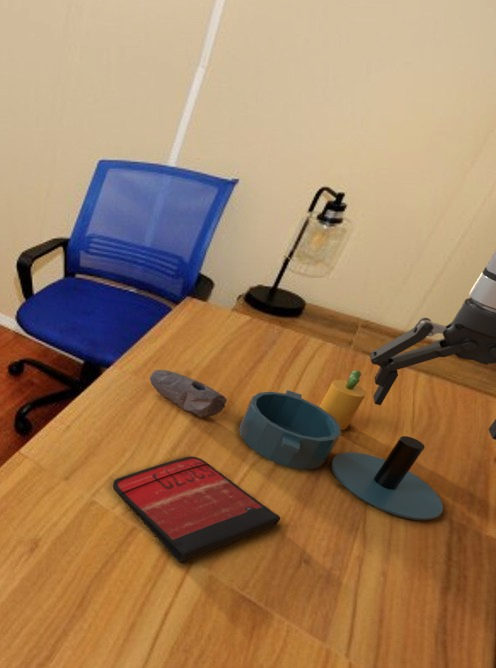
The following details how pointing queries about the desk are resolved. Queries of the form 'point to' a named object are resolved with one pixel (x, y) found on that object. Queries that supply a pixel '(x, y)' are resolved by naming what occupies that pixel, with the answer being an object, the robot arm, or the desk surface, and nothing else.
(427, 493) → the pot lid
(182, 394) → the perforated stone tool
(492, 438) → the robot arm
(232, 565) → the desk surface
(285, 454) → the pot
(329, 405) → the yellow cylinder green stem
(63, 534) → the desk surface
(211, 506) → the binder
